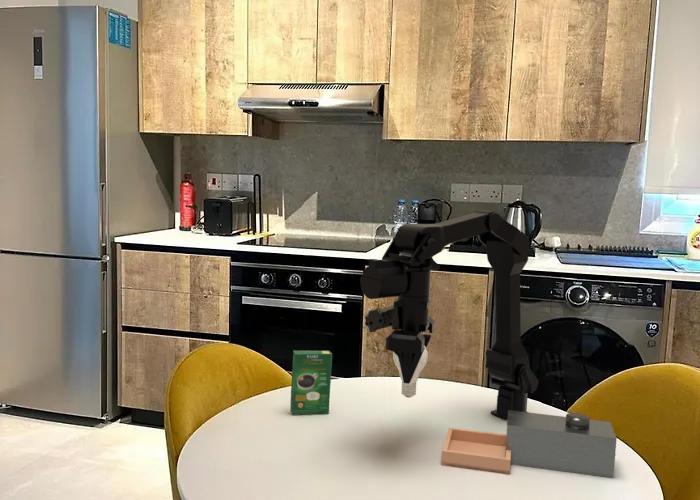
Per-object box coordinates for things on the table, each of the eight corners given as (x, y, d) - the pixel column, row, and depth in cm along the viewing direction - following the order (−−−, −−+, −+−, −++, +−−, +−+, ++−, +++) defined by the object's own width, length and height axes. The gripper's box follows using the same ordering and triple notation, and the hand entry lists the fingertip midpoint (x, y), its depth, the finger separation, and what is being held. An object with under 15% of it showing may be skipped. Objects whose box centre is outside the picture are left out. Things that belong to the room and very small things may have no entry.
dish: (448, 440, 128) (448, 427, 128) (510, 448, 125) (511, 435, 125) (441, 464, 117) (442, 450, 117) (509, 474, 114) (510, 460, 114)
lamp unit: (504, 463, 119) (507, 416, 118) (505, 445, 127) (508, 401, 126) (613, 477, 114) (617, 429, 113) (607, 458, 122) (610, 412, 121)
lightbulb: (424, 404, 120) (427, 344, 119) (388, 400, 121) (391, 341, 120) (427, 393, 126) (430, 336, 125) (393, 390, 127) (396, 333, 126)
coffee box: (327, 409, 142) (329, 348, 141) (330, 414, 140) (332, 352, 138) (289, 410, 141) (291, 349, 139) (291, 415, 138) (293, 353, 136)
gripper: (380, 283, 133) (376, 360, 134) (358, 299, 115) (354, 388, 116) (436, 287, 130) (432, 366, 132) (423, 305, 112) (418, 395, 114)
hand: (409, 378), depth 123 cm, fingers closed on lightbulb, 6 cm apart
